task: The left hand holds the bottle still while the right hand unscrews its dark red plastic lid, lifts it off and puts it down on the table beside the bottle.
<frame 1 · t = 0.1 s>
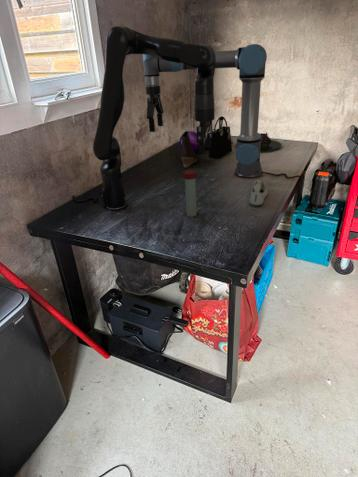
left hand: (205, 150, 131), 29 cm above the table, tool pointing down, fingers open, 8 cm apart
right hand: (156, 128, 177), 28 cm above the table, tool pointing down, fingers open, 13 cm apart
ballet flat: (258, 197, 160), on the table
lid: (190, 172, 138), point 19 cm above the table, screwed on, not yet turned
decorative orb: (190, 153, 234), on the table
boot: (189, 162, 214), on the table
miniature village: (256, 146, 240), on the table
bottle: (191, 214, 148), on the table
pair of gloves: (209, 144, 251), on the table
handbag: (220, 154, 226), on the table
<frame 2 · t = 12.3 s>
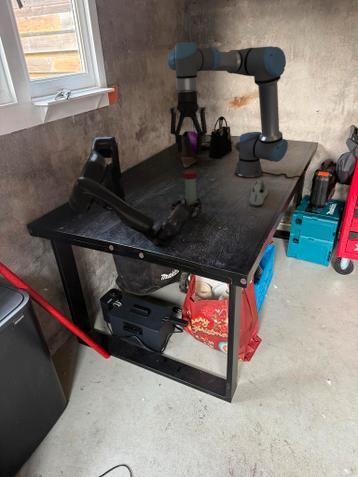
left hand: (193, 199, 147), 6 cm above the table, tool horizontal, fingers closed on bottle, 4 cm apart
right hand: (189, 151, 134), 28 cm above the table, tool pointing down, fingers open, 7 cm apart
bottle: (191, 214, 148), on the table, touching left hand
everything else where it was.
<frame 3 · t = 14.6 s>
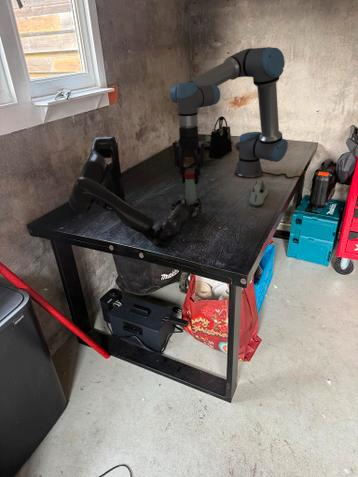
left hand: (193, 199, 147), 6 cm above the table, tool horizontal, fingers closed on bottle, 4 cm apart
right hand: (190, 182, 140), 15 cm above the table, tool pointing down, fingers closed on lid, 5 cm apart
lid: (190, 172, 138), point 19 cm above the table, screwed on, not yet turned, touching right hand
bottle: (191, 214, 148), on the table, touching left hand
everything else where it was.
when the right hand's fingers open (15 cm above the table, at t = 16.0 s): lid stays where it is, point 20 cm above the table.
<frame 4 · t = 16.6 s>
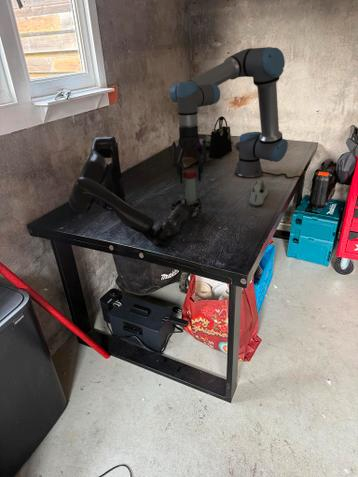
left hand: (193, 199, 147), 6 cm above the table, tool horizontal, fingers closed on bottle, 4 cm apart
right hand: (190, 181, 140), 16 cm above the table, tool pointing down, fingers open, 7 cm apart
lid: (190, 172, 138), point 20 cm above the table, turned 86° so far, risen 0.3 cm, still on its thread
bottle: (191, 214, 148), on the table, touching left hand
everything else where it was.
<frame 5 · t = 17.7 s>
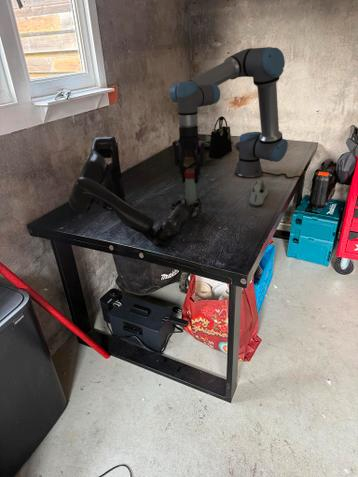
left hand: (193, 199, 147), 6 cm above the table, tool horizontal, fingers closed on bottle, 4 cm apart
right hand: (190, 181, 140), 15 cm above the table, tool pointing down, fingers closed on lid, 5 cm apart
lid: (190, 172, 138), point 20 cm above the table, turned 86° so far, risen 0.3 cm, still on its thread, touching right hand
bottle: (191, 214, 148), on the table, touching left hand
everything else where it was.
when the right hand's fingers open (0 cm above the table, at t = 24.7 s): lid drops 2 cm, point 2 cm above the table.
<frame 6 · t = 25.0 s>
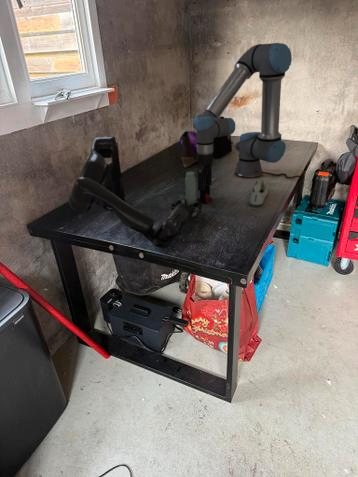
left hand: (193, 199, 147), 6 cm above the table, tool horizontal, fingers closed on bottle, 4 cm apart
right hand: (204, 200, 160), 0 cm above the table, tool pointing down, fingers open, 5 cm apart
lid: (204, 196, 160), point 2 cm above the table, off its thread
bottle: (191, 214, 148), on the table, touching left hand
everything else where it was.
when the left hand's fingers open (6 cm above the table, at t = 25.8 s): bottle stays where it is, on the table.
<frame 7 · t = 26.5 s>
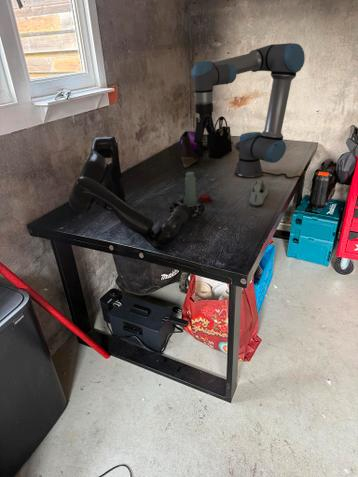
left hand: (192, 201, 145), 6 cm above the table, tool horizontal, fingers open, 8 cm apart
right hand: (205, 152, 149), 23 cm above the table, tool pointing down, fingers open, 13 cm apart
bottle: (191, 214, 148), on the table
everything else where it was.
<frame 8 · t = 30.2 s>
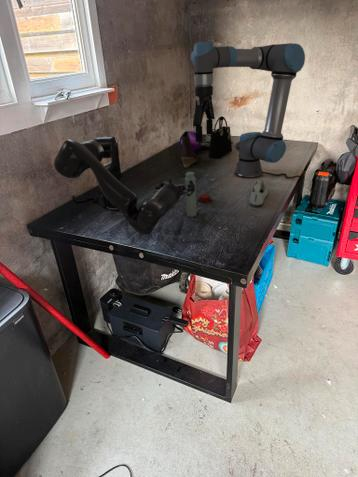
left hand: (181, 181, 129), 20 cm above the table, tool horizontal, fingers open, 8 cm apart
right hand: (204, 138, 146), 30 cm above the table, tool pointing down, fingers open, 13 cm apart
nothing on the table moved.
at the end: lid came off its thread; lid point 2.0 cm above the table; the left hand is holding nothing; the right hand is holding nothing; bottle tilted 0°; bottle moved 0.1 cm from its start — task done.
